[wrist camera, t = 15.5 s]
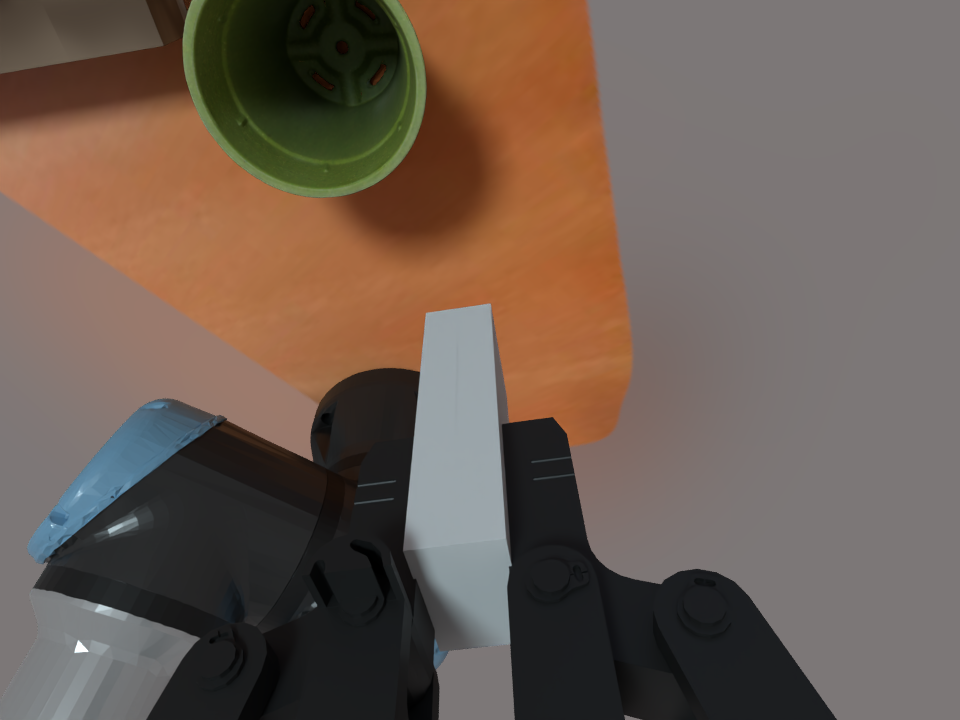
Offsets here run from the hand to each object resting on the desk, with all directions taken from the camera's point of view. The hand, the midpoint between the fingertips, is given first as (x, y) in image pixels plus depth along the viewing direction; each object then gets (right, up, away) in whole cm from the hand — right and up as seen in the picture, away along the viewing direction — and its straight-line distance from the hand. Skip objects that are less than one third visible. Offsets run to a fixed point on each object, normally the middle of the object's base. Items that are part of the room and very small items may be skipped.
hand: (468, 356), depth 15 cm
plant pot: (-8, +20, +25) cm, 34 cm away
